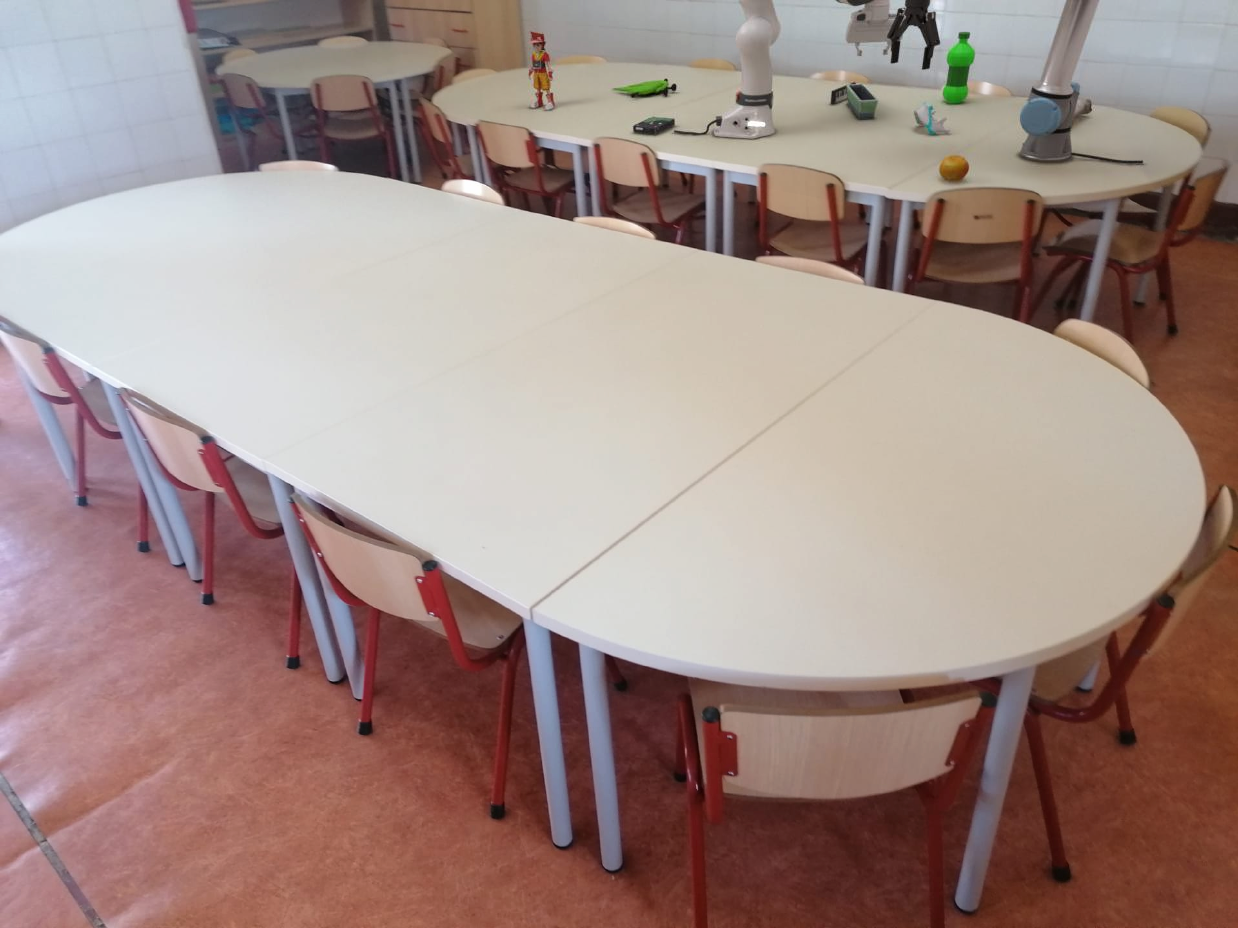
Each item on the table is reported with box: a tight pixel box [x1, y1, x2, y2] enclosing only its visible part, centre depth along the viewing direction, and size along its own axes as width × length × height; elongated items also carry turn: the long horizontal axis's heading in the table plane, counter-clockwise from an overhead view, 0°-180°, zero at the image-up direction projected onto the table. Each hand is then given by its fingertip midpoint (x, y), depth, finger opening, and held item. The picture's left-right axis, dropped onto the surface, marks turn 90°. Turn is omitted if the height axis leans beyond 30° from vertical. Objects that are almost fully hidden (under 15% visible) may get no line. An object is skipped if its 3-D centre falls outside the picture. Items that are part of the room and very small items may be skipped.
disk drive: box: [632, 116, 676, 136], centre depth 344 cm, size 10×3×15 cm
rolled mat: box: [1073, 97, 1093, 121], centre depth 320 cm, size 30×9×10 cm
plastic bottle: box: [942, 31, 976, 104], centre depth 348 cm, size 10×10×25 cm
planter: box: [846, 83, 879, 120], centre depth 349 cm, size 28×7×7 cm, turn 178°
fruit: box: [938, 154, 970, 182], centre depth 276 cm, size 8×8×8 cm
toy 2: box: [612, 78, 677, 99], centre depth 396 cm, size 28×5×30 cm
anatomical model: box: [913, 101, 951, 135], centre depth 322 cm, size 15×10×10 cm
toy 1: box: [527, 31, 556, 111], centre depth 374 cm, size 12×9×30 cm
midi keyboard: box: [830, 81, 857, 105], centre depth 365 cm, size 18×1×5 cm, turn 138°
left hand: (872, 55), depth 331 cm, fingers open, 8 cm apart
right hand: (909, 66), depth 291 cm, fingers open, 13 cm apart
